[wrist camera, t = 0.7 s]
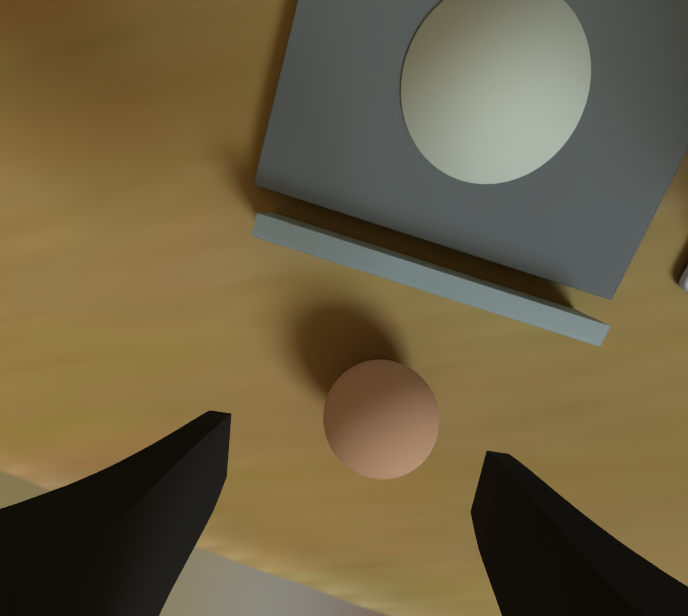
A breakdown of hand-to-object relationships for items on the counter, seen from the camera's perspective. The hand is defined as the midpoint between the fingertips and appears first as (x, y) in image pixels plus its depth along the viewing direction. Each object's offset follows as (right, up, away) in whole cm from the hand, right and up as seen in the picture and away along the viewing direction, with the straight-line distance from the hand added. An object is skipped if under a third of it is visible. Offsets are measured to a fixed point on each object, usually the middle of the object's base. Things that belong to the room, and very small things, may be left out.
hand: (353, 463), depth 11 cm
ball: (+2, -1, +8) cm, 8 cm away
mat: (+6, +14, +7) cm, 17 cm away
